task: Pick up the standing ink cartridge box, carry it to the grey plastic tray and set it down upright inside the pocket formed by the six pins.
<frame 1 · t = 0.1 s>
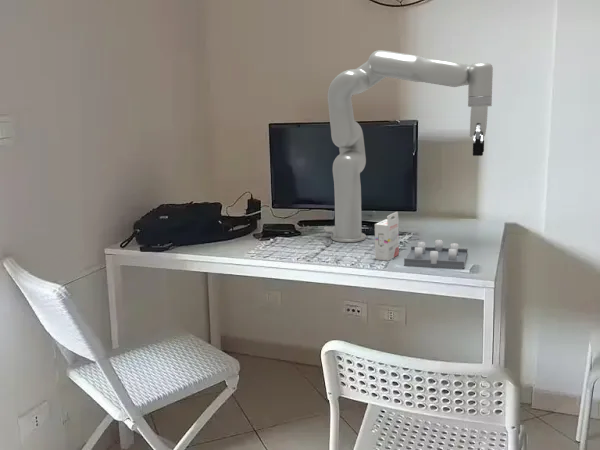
hand: (478, 153, 221), 31 cm above the table, tool pointing down, fingers open, 9 cm apart
ink cartridge box: (386, 257, 215), on the table
tray: (436, 260, 209), on the table
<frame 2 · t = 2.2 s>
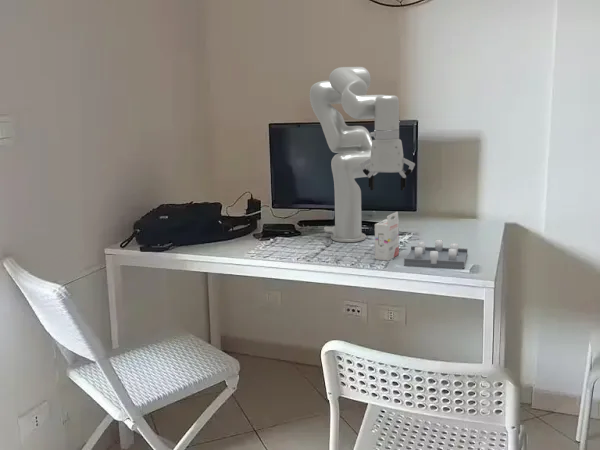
hand: (387, 189, 210), 22 cm above the table, tool pointing down, fingers open, 9 cm apart
nothing on the table moved.
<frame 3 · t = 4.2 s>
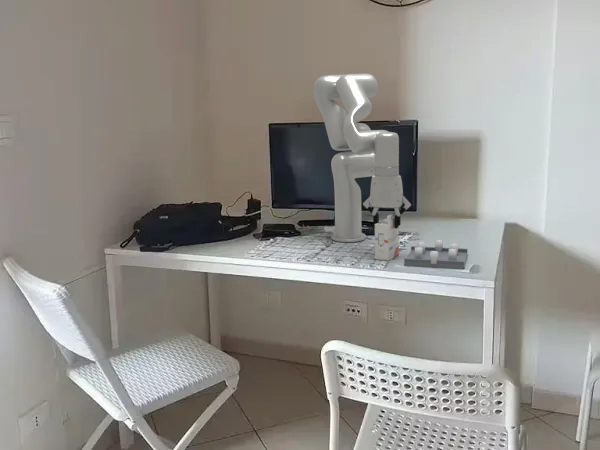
hand: (386, 226, 213), 10 cm above the table, tool pointing down, fingers closed on ink cartridge box, 5 cm apart
ink cartridge box: (386, 257, 215), on the table, touching gripper
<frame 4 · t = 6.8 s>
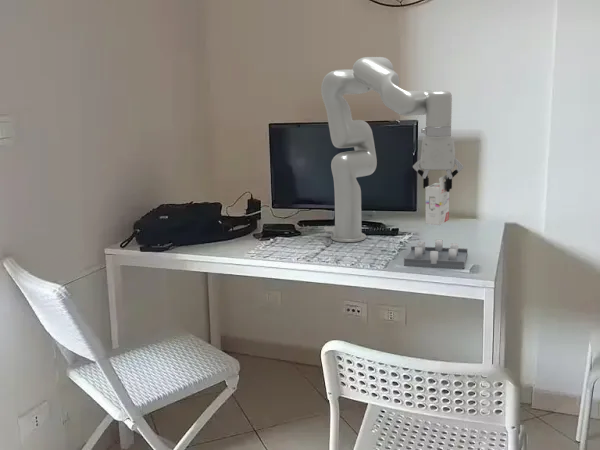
hand: (437, 190, 204), 22 cm above the table, tool pointing down, fingers closed on ink cartridge box, 5 cm apart
ink cartridge box: (436, 222, 207), point 12 cm above the table, touching gripper
when the fingers open (13 cm above the table, at t = 9.3 s): ink cartridge box drops 1 cm, resting on tray.
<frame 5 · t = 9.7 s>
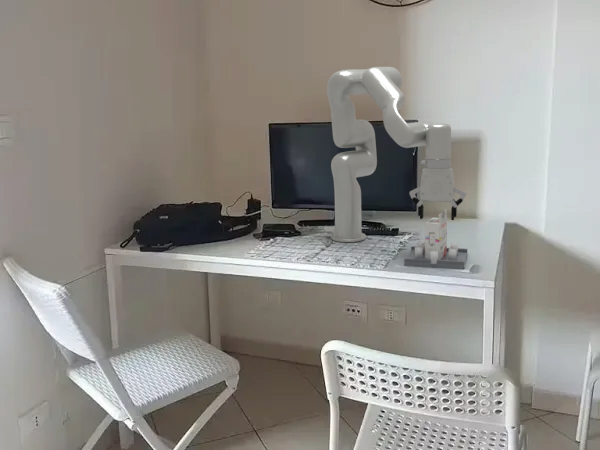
hand: (437, 218, 206), 13 cm above the table, tool pointing down, fingers open, 9 cm apart
ink cartridge box: (435, 257, 209), point 1 cm above the table, touching tray
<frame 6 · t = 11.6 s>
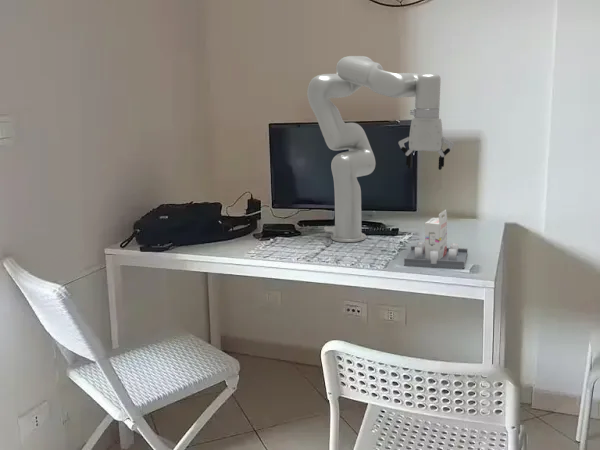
hand: (424, 168, 211), 28 cm above the table, tool pointing down, fingers open, 9 cm apart
nothing on the table moved.
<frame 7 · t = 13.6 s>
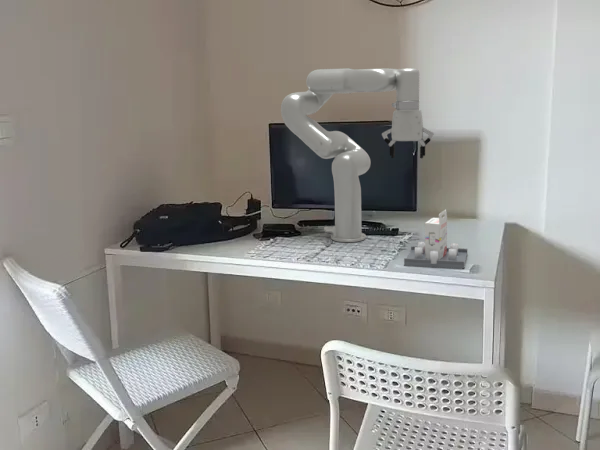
hand: (407, 157, 223), 30 cm above the table, tool pointing down, fingers open, 9 cm apart
nothing on the table moved.
at the end: ink cartridge box 0.4 cm off-centre on the tray, point 1.0 cm above the tray's base; ink cartridge box tilted 0°; the gripper is holding nothing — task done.
